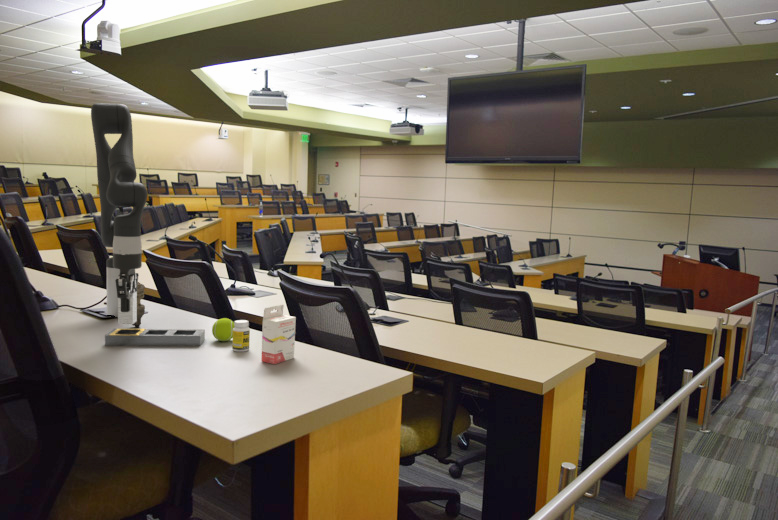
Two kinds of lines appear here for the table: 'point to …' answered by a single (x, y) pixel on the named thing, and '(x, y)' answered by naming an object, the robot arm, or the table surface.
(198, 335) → the grey long flat frame
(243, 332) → the supplement bottle
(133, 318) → the brushed metal square block
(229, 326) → the tennis ball
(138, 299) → the beige stone carving
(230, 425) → the table surface
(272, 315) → the ink cartridge box
